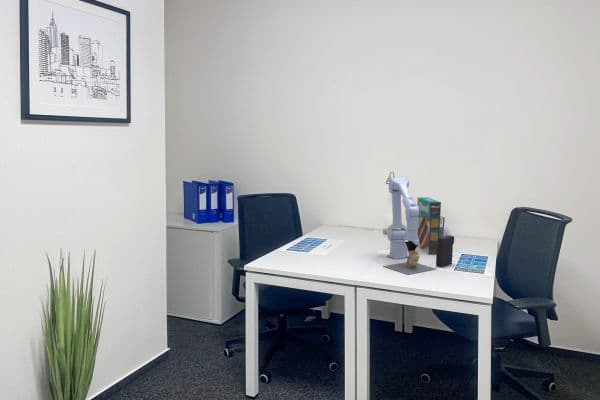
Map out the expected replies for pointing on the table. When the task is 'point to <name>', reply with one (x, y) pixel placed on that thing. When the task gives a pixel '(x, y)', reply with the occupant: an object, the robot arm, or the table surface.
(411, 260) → the maple block
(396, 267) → the mat
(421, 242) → the cake mix box
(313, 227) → the table surface
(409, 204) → the robot arm
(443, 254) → the small drawer cabinet
